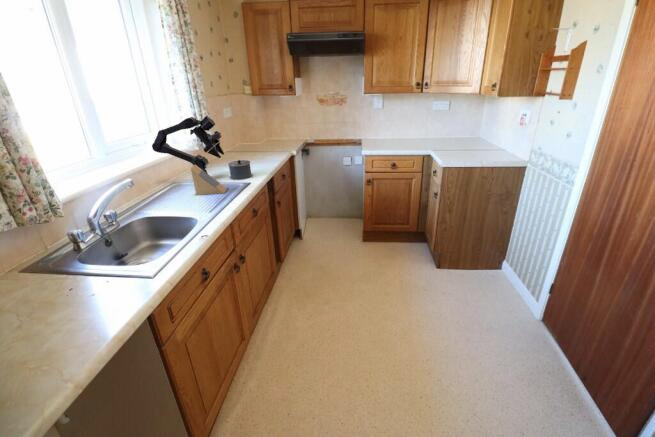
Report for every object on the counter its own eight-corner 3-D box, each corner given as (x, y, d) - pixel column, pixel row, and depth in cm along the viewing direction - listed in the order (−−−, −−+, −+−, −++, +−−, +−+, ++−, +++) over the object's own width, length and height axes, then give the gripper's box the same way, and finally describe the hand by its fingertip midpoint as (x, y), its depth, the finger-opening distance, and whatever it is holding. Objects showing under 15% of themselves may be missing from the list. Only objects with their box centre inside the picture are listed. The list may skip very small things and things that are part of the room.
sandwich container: (224, 193, 177) (219, 166, 171) (196, 195, 176) (190, 168, 170) (227, 188, 185) (223, 162, 179) (200, 190, 184) (195, 164, 178)
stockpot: (226, 179, 202) (223, 162, 198) (237, 173, 214) (234, 157, 209) (245, 180, 198) (243, 162, 194) (255, 173, 210) (253, 157, 206)
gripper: (208, 129, 182) (228, 151, 188) (216, 124, 199) (234, 144, 205) (194, 141, 184) (214, 162, 190) (203, 136, 201) (221, 155, 207)
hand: (222, 155), depth 198 cm, fingers open, 9 cm apart
